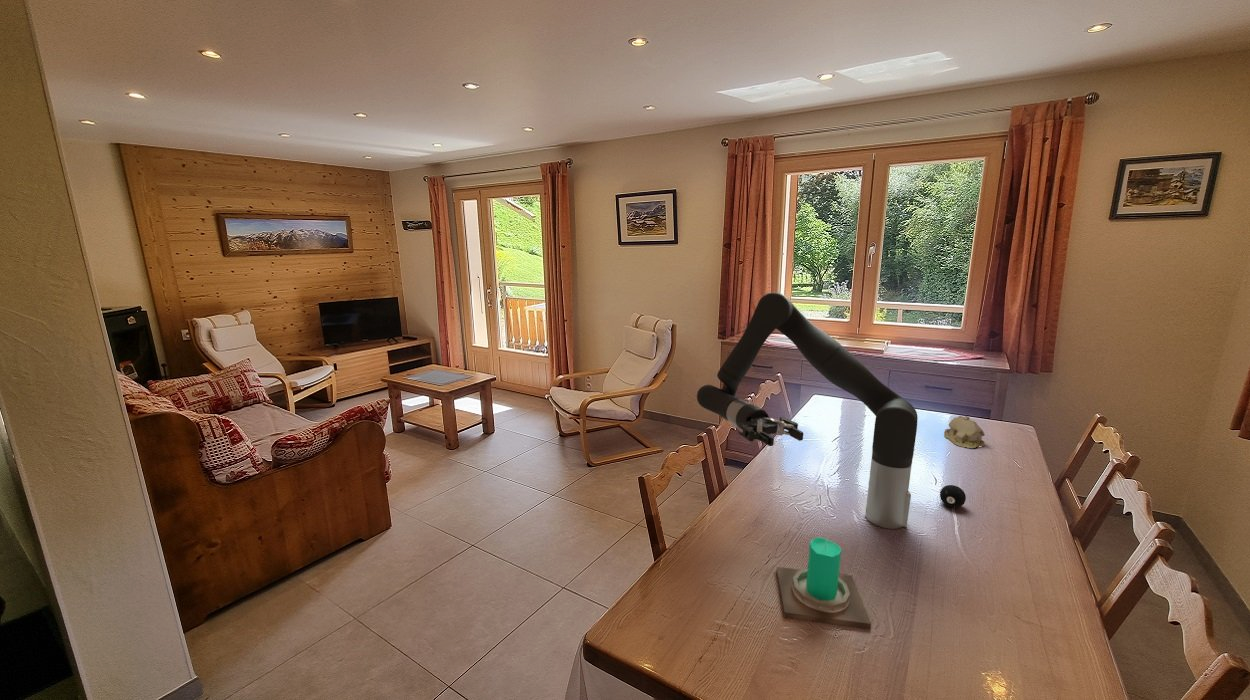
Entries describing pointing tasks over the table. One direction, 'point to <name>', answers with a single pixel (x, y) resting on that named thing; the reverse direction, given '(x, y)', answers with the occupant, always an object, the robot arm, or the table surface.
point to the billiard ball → (952, 496)
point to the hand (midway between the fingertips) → (787, 439)
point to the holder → (809, 608)
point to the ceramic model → (965, 432)
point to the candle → (823, 569)
